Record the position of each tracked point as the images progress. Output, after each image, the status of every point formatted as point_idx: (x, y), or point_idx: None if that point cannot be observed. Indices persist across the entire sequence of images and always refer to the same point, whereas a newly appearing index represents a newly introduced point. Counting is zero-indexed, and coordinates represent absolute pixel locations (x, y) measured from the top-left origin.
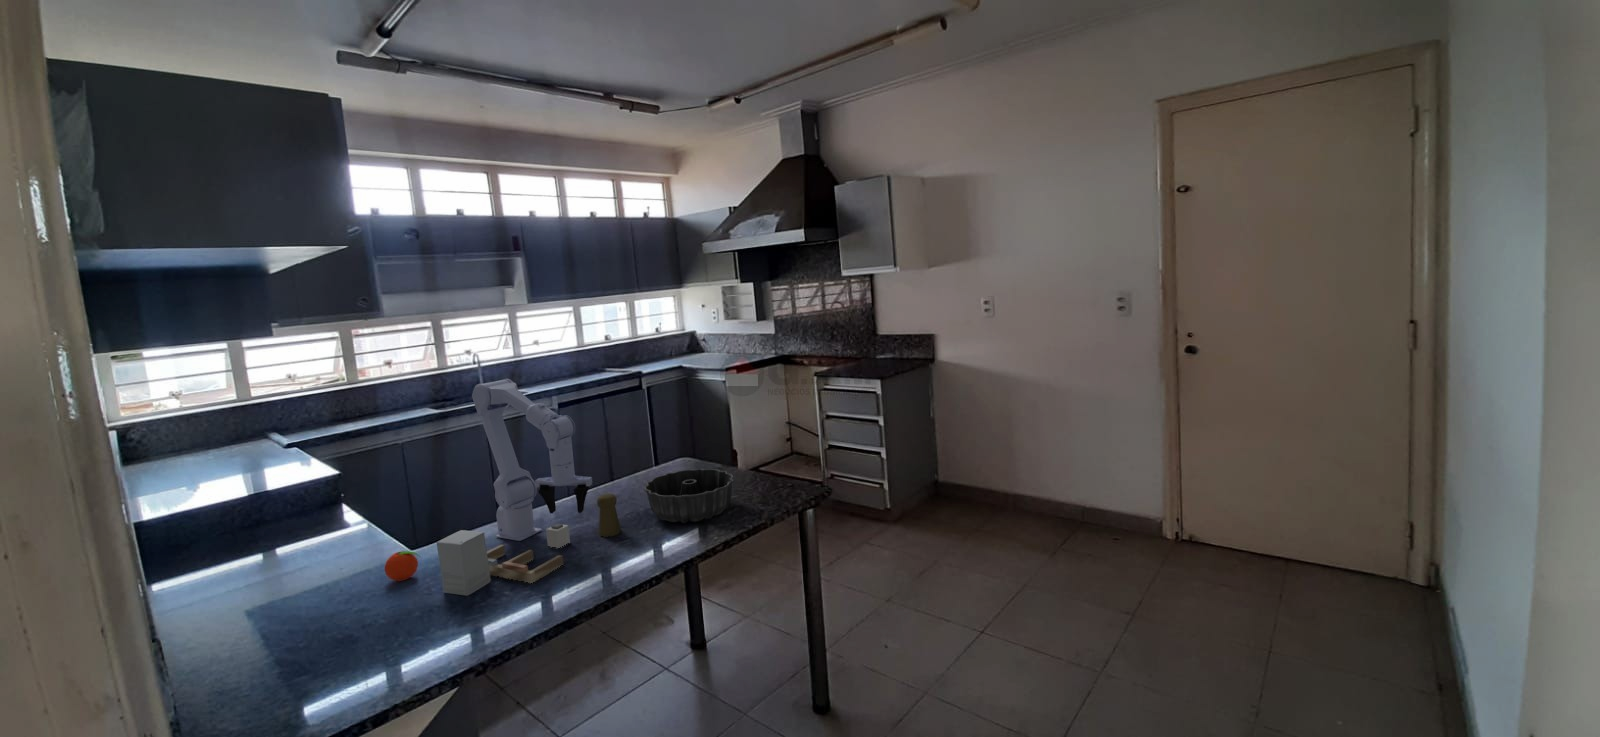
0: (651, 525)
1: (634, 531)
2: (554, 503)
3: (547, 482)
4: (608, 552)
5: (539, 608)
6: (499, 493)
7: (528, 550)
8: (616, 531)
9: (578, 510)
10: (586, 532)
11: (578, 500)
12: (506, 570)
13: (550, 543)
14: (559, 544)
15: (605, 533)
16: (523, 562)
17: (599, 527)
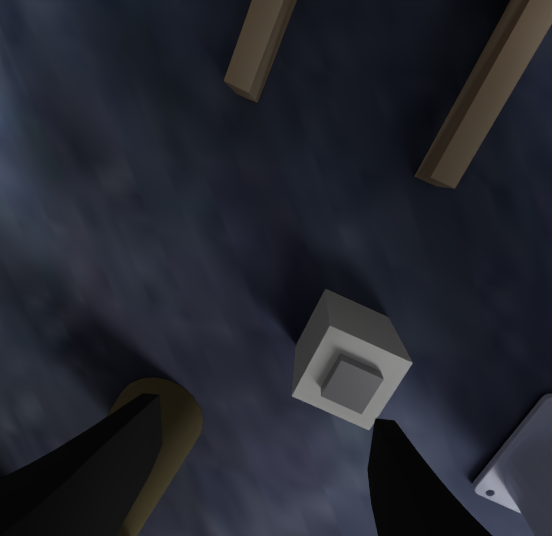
0: (22, 451)
1: (63, 410)
2: (382, 530)
3: None
4: (80, 218)
5: None
6: None
7: (455, 178)
8: (115, 402)
9: (142, 402)
10: (260, 434)
11: (61, 465)
12: None
13: (375, 317)
14: (324, 298)
15: (153, 389)
16: (453, 110)
17: (176, 422)
